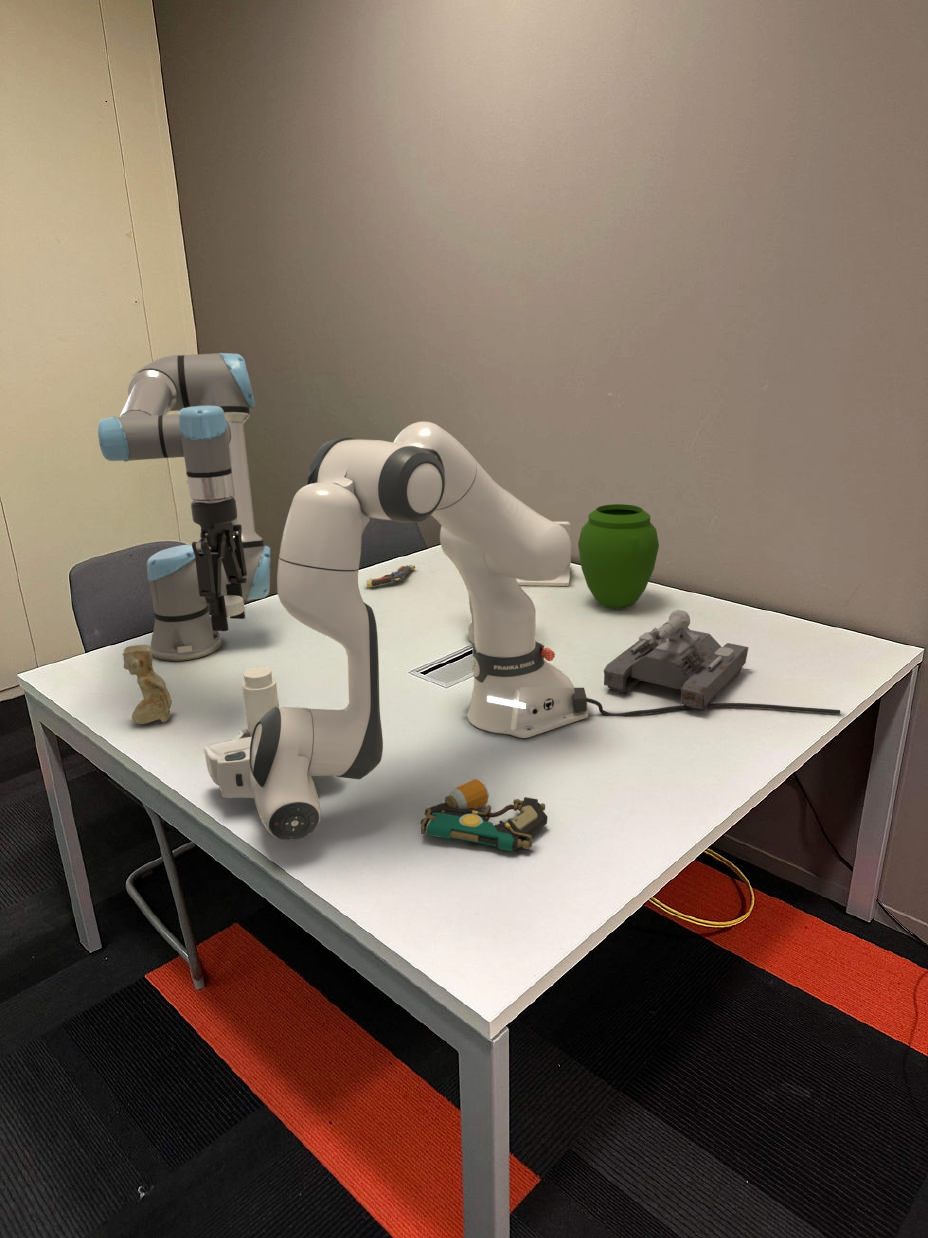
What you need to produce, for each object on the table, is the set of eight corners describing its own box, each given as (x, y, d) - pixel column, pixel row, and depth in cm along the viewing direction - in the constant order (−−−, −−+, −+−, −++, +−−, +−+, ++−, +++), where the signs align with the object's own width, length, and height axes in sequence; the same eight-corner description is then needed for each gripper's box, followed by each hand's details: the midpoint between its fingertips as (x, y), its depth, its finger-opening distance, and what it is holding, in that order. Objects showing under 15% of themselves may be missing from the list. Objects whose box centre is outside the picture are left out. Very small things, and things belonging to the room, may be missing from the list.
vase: (599, 587, 227) (601, 497, 218) (668, 600, 216) (673, 505, 208) (562, 608, 212) (564, 513, 204) (634, 623, 202) (639, 523, 193)
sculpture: (138, 714, 164) (124, 642, 159) (176, 711, 165) (164, 639, 159) (130, 728, 159) (116, 654, 153) (170, 725, 159) (157, 651, 154)
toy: (655, 649, 187) (658, 584, 181) (746, 669, 176) (753, 600, 170) (602, 692, 167) (604, 620, 162) (701, 717, 156) (707, 641, 151)
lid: (204, 615, 153) (202, 604, 152) (222, 605, 158) (221, 594, 157) (233, 618, 151) (231, 606, 150) (250, 607, 156) (249, 596, 156)
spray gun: (558, 822, 128) (509, 880, 116) (464, 786, 136) (409, 838, 124) (560, 798, 126) (510, 855, 114) (464, 764, 134) (409, 814, 122)
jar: (276, 752, 149) (265, 662, 143) (290, 764, 145) (280, 672, 139) (247, 762, 146) (235, 671, 140) (261, 775, 142) (249, 681, 136)
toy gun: (363, 580, 231) (399, 577, 228) (382, 564, 248) (415, 561, 246) (365, 590, 231) (400, 587, 229) (384, 573, 249) (417, 570, 247)
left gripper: (219, 487, 157) (235, 606, 165) (163, 510, 140) (183, 641, 148) (257, 487, 155) (270, 607, 163) (204, 511, 138) (223, 644, 146)
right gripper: (341, 738, 134) (323, 702, 146) (207, 764, 128) (199, 724, 140) (344, 773, 136) (326, 734, 149) (212, 800, 130) (205, 758, 142)
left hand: (229, 623), depth 155 cm, fingers closed on lid, 6 cm apart
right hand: (264, 729), depth 144 cm, fingers closed on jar, 5 cm apart
